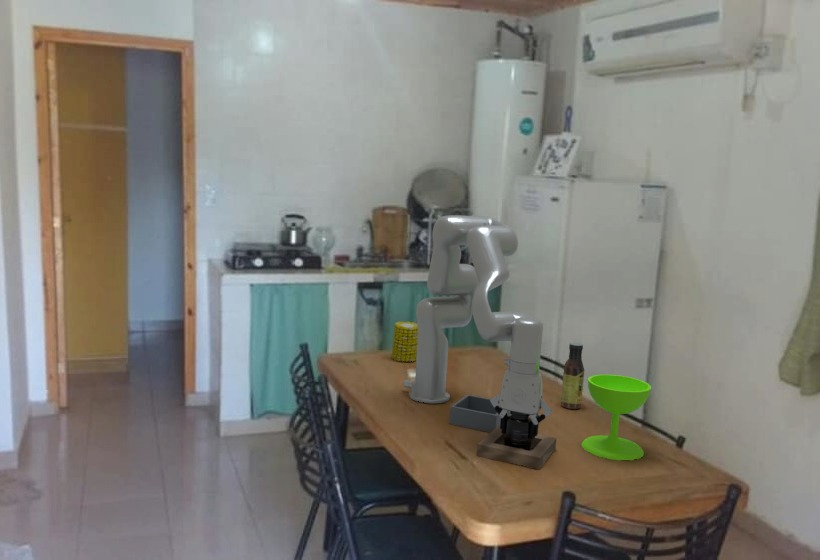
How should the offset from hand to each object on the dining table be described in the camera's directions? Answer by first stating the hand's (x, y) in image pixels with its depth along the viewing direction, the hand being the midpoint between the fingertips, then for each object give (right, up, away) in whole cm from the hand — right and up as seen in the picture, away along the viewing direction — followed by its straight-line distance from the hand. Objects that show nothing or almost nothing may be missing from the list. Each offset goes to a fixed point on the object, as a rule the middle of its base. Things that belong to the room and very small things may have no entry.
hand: (518, 434), depth 191 cm
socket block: (0, -5, +1) cm, 5 cm away
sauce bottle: (+22, 0, +42) cm, 47 cm away
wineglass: (+26, -6, +7) cm, 27 cm away
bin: (-8, -1, +23) cm, 24 cm away
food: (-30, +9, +86) cm, 91 cm away
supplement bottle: (0, -5, +1) cm, 5 cm away
